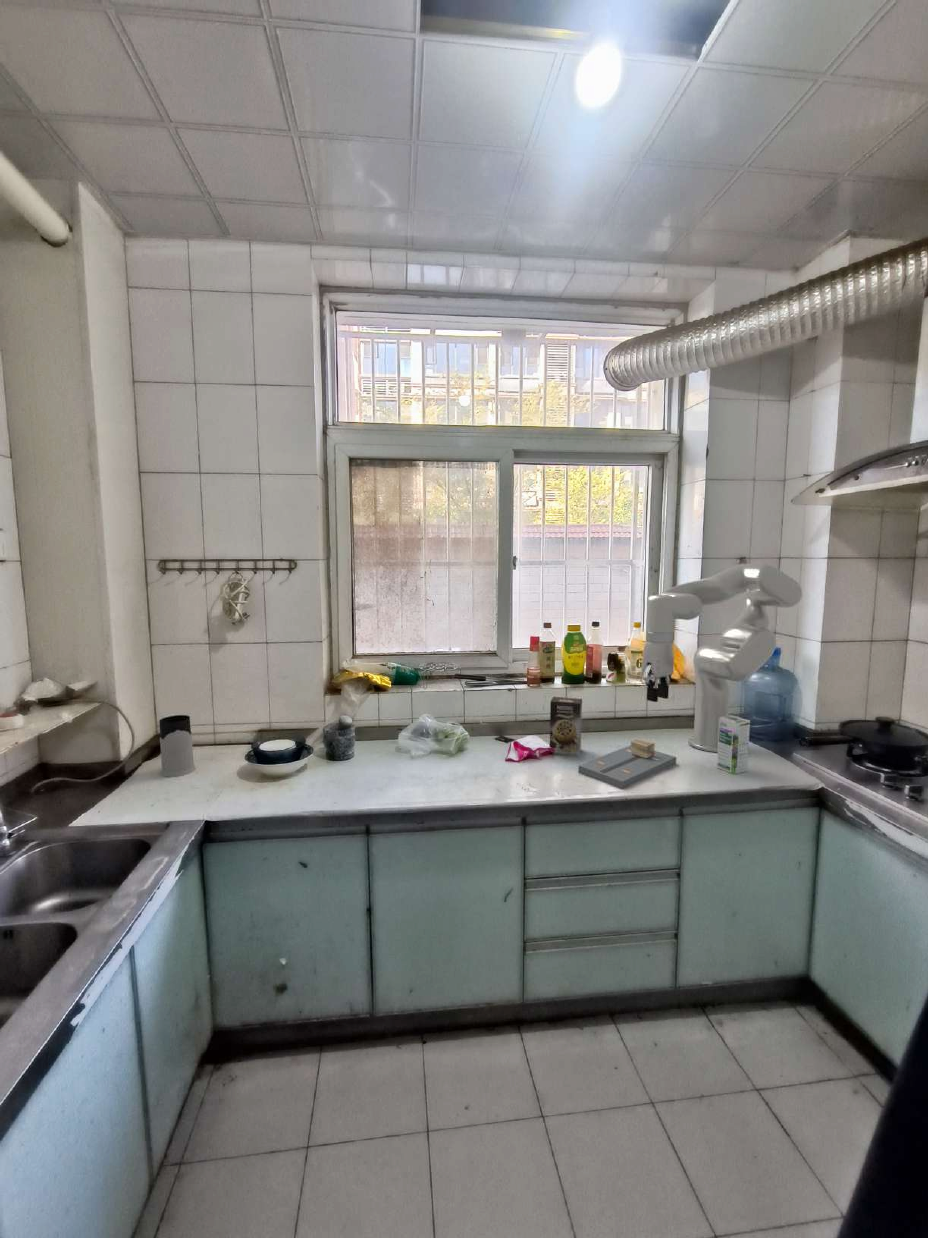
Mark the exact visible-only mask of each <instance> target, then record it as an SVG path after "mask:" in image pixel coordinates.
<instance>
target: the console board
mask: <svg viewBox="0 0 928 1238" xmlns="http://www.w3.org/2000/svg"><path fill="white" fill-rule="evenodd" d="M676 764H677V756H674V755H671V754H667V753H665V752H661V751H659V750H658V751H657V750H654V755H653V756H651V757H648V758H644V757H640V756H637V755H634V754H631V744H630V745H628V746H624V747H623V748H620V749H618V750H615V751H612V752H609V753H607V754H604V755H602V756H599V757H597V758H594V759H592V760H589V761H587V762H584V763H581V764H578V768H577V769H578V771H577V772H578V773H579V774H581V775H584V776H587V777H589V778H592V779H595V780H597V781H599V782H603V783H605V784H608V785H611V786H612V787H616V788H617V789H618V788H619V789H620V790H623V789H625V788H628V787H630V786H632V785H634V784H636V783H638V782H641V781H642V780H644V779H647V778H649V777H651V776H653V775H655V774H658V773H659V772H662V771H663V770H666V769H668V768H670V767H672V766H675V765H676Z"/></svg>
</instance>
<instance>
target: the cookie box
mask: <svg viewBox="0 0 928 1238" xmlns="http://www.w3.org/2000/svg"><path fill="white" fill-rule="evenodd" d="M549 708H550V710H549V711H550V712H549V715H550V716H549V748H550V747H551V748H554V750H555V751H554V753H553V754H556V755H567V756H574V757H575V756H576V757H579V756H580V754H581V751H582V718H583V717H582V716H583V715H582V713H583V711H582V710H583V699H582V698H576V697H575V698H573V697H561V696H552V698H551V700H550V707H549Z"/></svg>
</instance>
